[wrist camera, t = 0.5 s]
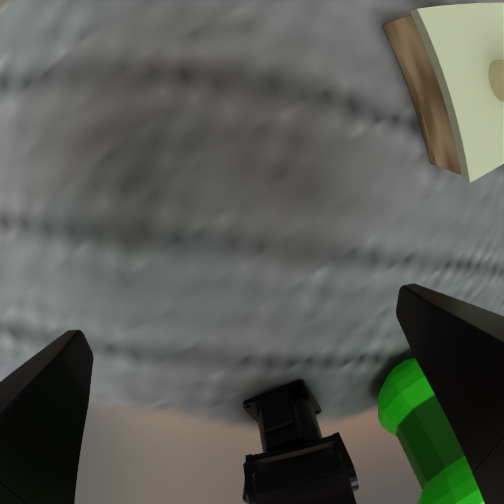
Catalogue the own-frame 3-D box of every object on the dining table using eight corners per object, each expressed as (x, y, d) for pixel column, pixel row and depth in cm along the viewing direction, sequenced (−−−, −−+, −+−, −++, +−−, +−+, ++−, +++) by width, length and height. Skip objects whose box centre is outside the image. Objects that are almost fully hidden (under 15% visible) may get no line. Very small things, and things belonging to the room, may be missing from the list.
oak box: (508, 125, 20) (539, 133, 16) (430, 163, 21) (463, 175, 17) (474, 11, 15) (505, 6, 11) (382, 25, 16) (413, 14, 12)
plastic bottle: (424, 392, 34) (505, 541, 11) (353, 410, 32) (425, 592, 10) (453, 333, 29) (571, 498, 7) (377, 348, 28) (492, 571, 6)
